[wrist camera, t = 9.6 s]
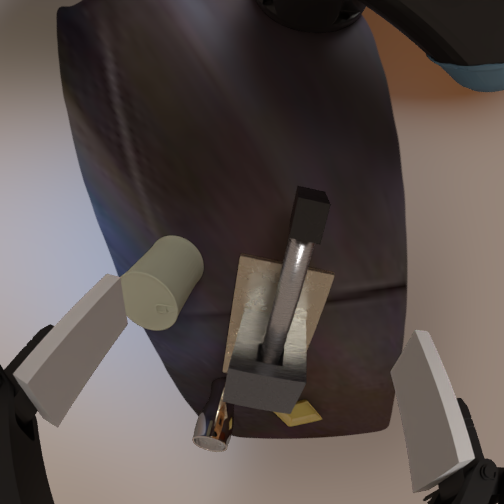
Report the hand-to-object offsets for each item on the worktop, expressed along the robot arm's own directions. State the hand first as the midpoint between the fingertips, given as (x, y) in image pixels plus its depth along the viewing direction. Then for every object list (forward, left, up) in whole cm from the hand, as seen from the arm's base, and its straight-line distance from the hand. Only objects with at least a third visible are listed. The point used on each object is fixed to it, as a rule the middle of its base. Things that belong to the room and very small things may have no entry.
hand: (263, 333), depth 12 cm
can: (+15, -14, -29) cm, 36 cm away
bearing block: (+24, +3, -29) cm, 37 cm away
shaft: (+12, +3, -21) cm, 24 cm away
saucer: (+47, +14, -29) cm, 57 cm away
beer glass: (+43, -3, -29) cm, 52 cm away
